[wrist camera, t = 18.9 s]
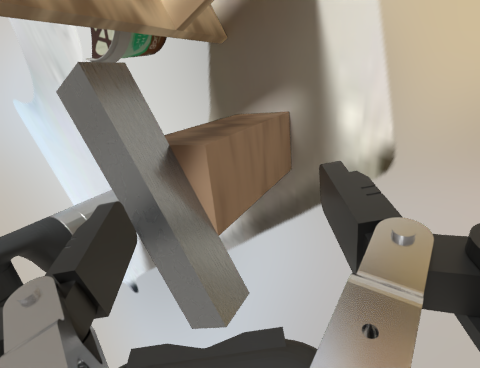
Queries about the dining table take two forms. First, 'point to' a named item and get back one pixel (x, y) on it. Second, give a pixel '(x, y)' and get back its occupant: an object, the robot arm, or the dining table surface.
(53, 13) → the shelf stand
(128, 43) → the food container
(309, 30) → the dining table surface
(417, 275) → the robot arm
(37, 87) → the dining table surface
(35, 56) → the dining table surface
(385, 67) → the dining table surface
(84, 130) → the bar
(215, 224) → the pedestal
